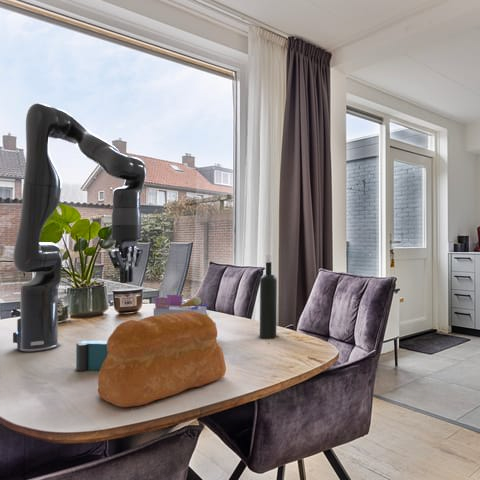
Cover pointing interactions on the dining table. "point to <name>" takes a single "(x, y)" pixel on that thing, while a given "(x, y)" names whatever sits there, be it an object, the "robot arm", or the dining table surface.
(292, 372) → the dining table surface
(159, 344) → the bread
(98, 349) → the teal block
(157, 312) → the toy vehicle
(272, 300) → the wine bottle
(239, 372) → the dining table surface
